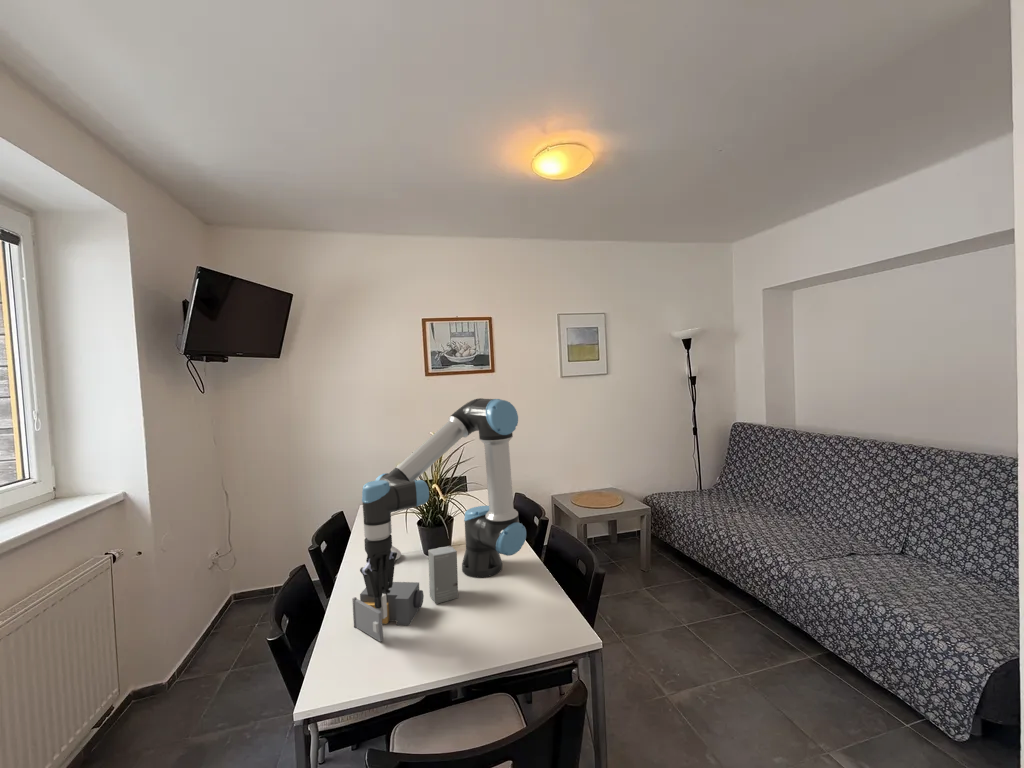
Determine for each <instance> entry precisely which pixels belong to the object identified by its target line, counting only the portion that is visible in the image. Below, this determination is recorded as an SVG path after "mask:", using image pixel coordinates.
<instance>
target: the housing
mask: <svg viewBox="0 0 1024 768" xmlns="http://www.w3.org/2000/svg"><path fill="white" fill-rule="evenodd" d="M388 583H389V582H388ZM388 590H390V593H389V594H388V593H387V599H388V601H387V617H386V618H384V619H382V625H388V624H389V622H391V621H392V622H396V626H410V625H411V624H412V623H413V620H414V618H415V617H416V615H417V613H418V612H419V610H420V609H421V608H422V607H423V603H424V596H425V595H424V591H423V590H422V589H420V582H416V581H414V582H413V581H411V582H410V581H406V582H405V581H393V585H392V588H389V589H388ZM357 599H358V598H357V597H355V596H353V597H352V598H351V600H352V601H351V602H352V615H353V617H352V618H353V628H355V629H356V628H357V627H356V616H355V600H357ZM359 600H360V601H362V602H364V603H366V604H368V605H370V606H371V607H373V608H375V601H374V598H372V597H369V596H368V593H367V589H366V587H365V588H364V589H363V590H362V591H361V592H360V593H359ZM375 609H376V608H375ZM357 629H358V628H357Z"/></svg>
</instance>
